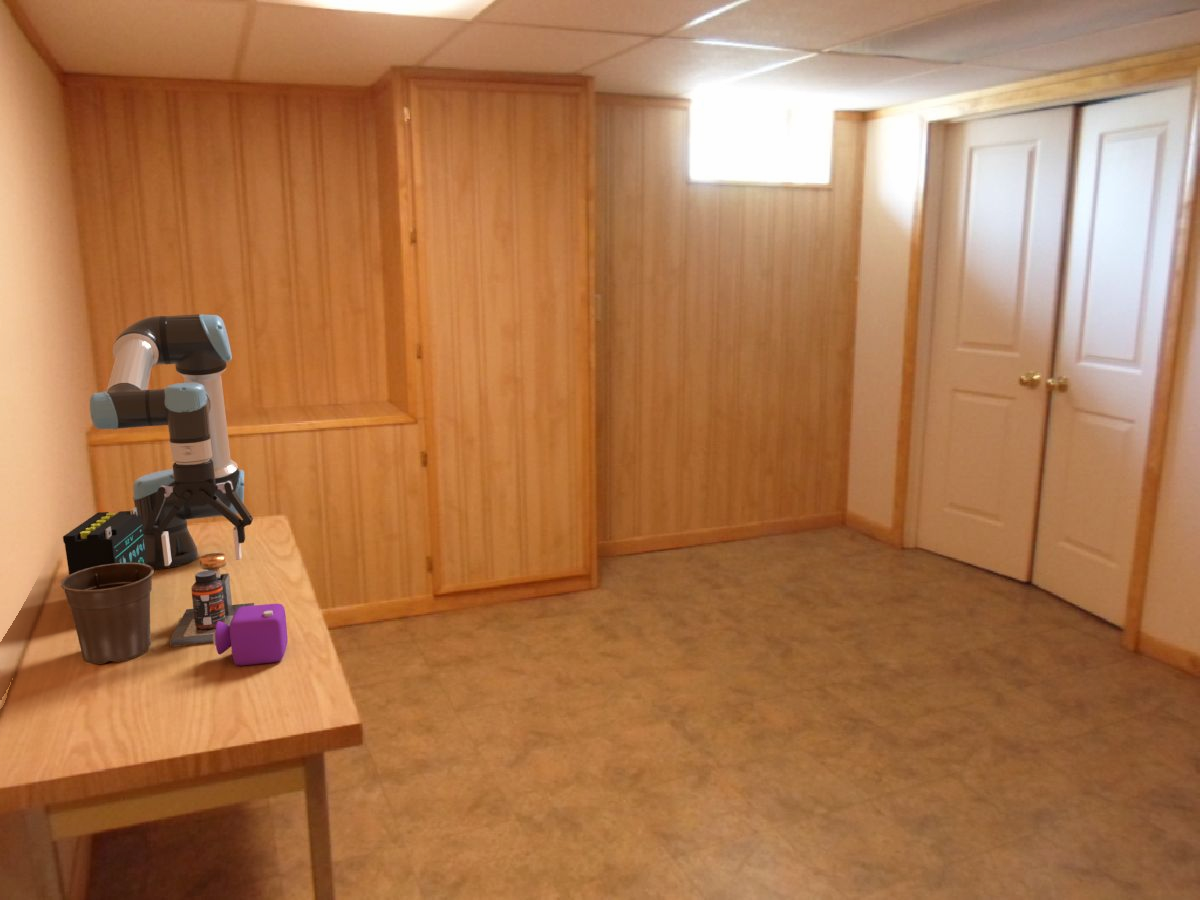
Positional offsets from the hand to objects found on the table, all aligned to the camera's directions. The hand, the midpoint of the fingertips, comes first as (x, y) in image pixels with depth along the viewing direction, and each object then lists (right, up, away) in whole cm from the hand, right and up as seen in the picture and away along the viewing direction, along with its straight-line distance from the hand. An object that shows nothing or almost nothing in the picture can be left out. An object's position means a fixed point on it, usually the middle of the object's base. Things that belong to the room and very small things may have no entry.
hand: (203, 561), depth 189 cm
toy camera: (+14, -18, -9) cm, 24 cm away
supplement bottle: (0, -14, +3) cm, 14 cm away
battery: (-30, -12, +21) cm, 39 cm away
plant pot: (-15, -18, -5) cm, 24 cm away
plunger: (-2, -7, +10) cm, 12 cm away
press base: (0, -15, +6) cm, 16 cm away
